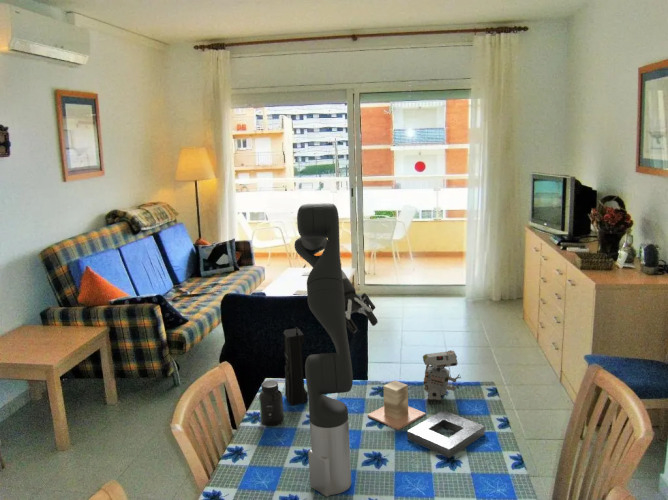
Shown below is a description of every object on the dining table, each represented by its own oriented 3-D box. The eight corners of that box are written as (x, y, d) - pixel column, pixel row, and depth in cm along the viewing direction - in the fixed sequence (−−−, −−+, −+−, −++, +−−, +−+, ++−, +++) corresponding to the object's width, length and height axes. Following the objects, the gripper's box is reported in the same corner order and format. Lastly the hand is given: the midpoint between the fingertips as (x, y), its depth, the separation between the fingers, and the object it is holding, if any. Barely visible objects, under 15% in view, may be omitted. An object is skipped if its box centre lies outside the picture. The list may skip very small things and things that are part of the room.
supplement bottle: (257, 426, 175) (254, 388, 172) (265, 415, 181) (262, 378, 179) (279, 428, 173) (276, 389, 170) (287, 416, 180) (284, 379, 177)
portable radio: (284, 395, 193) (278, 322, 188) (302, 392, 195) (297, 319, 190) (289, 406, 186) (284, 330, 181) (308, 402, 188) (303, 327, 183)
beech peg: (397, 419, 173) (396, 390, 171) (384, 414, 177) (383, 385, 175) (408, 413, 177) (407, 385, 175) (395, 408, 180) (394, 380, 178)
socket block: (449, 458, 153) (449, 449, 153) (407, 439, 164) (407, 430, 163) (484, 434, 164) (484, 426, 163) (443, 417, 174) (443, 409, 174)
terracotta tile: (398, 430, 168) (398, 428, 168) (367, 416, 177) (367, 414, 177) (425, 414, 176) (425, 412, 176) (394, 402, 185) (394, 400, 185)
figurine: (460, 405, 181) (460, 359, 178) (422, 403, 183) (421, 357, 180) (460, 392, 190) (460, 347, 186) (424, 390, 192) (423, 346, 189)
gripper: (325, 282, 177) (354, 327, 171) (359, 273, 187) (388, 315, 180) (315, 296, 182) (342, 340, 176) (348, 286, 191) (376, 328, 185)
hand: (365, 327), depth 178 cm, fingers open, 8 cm apart
